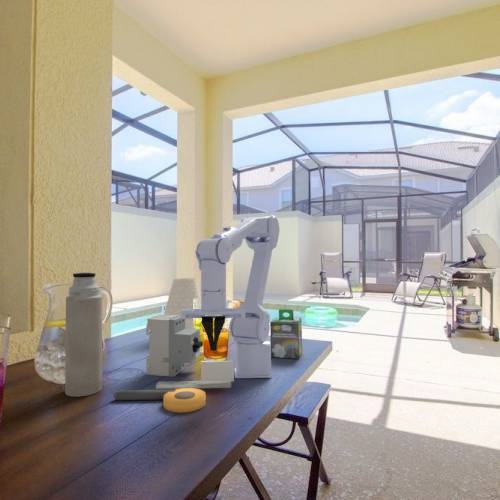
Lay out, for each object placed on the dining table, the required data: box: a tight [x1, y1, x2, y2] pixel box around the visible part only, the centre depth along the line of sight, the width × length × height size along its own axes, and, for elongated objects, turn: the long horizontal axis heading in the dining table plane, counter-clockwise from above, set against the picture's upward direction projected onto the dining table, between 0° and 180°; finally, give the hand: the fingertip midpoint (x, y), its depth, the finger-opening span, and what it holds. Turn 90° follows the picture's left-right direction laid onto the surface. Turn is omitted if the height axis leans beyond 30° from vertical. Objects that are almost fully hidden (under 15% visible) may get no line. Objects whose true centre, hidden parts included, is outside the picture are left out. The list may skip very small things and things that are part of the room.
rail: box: [155, 380, 232, 390], centre depth 91 cm, size 18×2×1 cm, turn 93°
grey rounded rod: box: [113, 389, 176, 401], centre depth 83 cm, size 14×2×2 cm, turn 93°
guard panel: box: [200, 360, 235, 382], centre depth 91 cm, size 8×1×5 cm, turn 93°
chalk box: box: [269, 308, 303, 360], centre depth 120 cm, size 9×9×15 cm
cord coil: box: [162, 388, 207, 414], centre depth 80 cm, size 9×9×2 cm
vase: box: [163, 277, 201, 329], centre depth 147 cm, size 17×17×23 cm
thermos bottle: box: [64, 272, 103, 398], centre depth 89 cm, size 8×8×28 cm
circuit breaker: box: [145, 314, 204, 378], centre depth 103 cm, size 8×14×15 cm, turn 78°
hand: (213, 349), depth 85 cm, fingers closed
